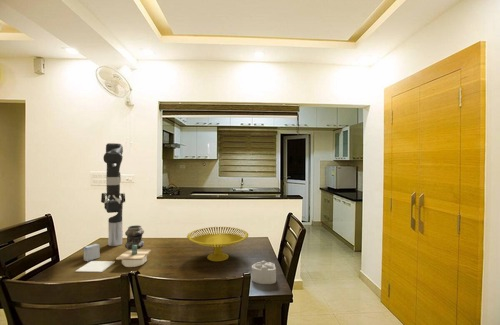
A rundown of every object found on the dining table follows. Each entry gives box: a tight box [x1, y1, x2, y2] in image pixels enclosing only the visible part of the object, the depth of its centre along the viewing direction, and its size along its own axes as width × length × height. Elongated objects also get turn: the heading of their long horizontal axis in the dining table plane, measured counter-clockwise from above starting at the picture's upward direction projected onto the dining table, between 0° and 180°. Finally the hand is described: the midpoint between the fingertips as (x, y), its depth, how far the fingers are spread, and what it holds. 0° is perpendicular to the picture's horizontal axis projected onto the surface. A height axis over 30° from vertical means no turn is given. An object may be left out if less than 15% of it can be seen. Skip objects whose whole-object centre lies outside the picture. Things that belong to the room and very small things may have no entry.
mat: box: [75, 260, 116, 273], centre depth 154 cm, size 14×15×1 cm
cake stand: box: [186, 226, 249, 262], centre depth 171 cm, size 40×40×15 cm
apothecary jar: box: [124, 224, 145, 250], centre depth 177 cm, size 12×12×18 cm
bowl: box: [121, 254, 148, 268], centre depth 160 cm, size 13×13×5 cm
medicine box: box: [83, 243, 101, 263], centre depth 166 cm, size 8×4×9 cm, turn 149°
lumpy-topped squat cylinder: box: [250, 260, 277, 285], centre depth 141 cm, size 10×13×9 cm
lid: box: [115, 245, 152, 261], centre depth 160 cm, size 15×15×6 cm
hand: (113, 209), depth 165 cm, fingers open, 8 cm apart
